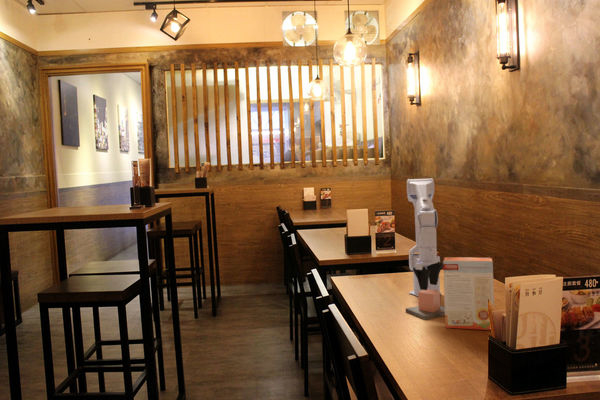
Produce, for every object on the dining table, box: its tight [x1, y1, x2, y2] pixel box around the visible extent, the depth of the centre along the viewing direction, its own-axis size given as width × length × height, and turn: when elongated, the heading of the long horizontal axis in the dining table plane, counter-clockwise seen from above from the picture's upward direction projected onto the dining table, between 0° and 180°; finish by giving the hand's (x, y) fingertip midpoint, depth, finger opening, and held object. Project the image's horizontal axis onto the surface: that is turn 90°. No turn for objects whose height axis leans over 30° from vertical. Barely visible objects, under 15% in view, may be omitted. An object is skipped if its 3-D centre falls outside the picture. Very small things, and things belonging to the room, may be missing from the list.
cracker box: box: [442, 256, 495, 331], centre depth 145 cm, size 14×6×21 cm, turn 71°
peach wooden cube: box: [417, 289, 441, 312], centre depth 160 cm, size 5×5×6 cm
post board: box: [405, 304, 445, 320], centre depth 160 cm, size 12×10×6 cm
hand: (428, 287), depth 160 cm, fingers open, 7 cm apart
